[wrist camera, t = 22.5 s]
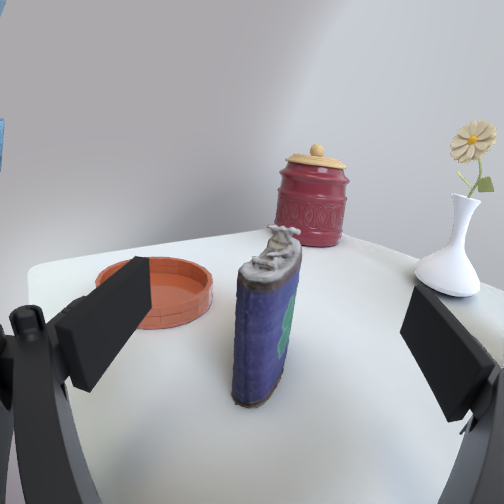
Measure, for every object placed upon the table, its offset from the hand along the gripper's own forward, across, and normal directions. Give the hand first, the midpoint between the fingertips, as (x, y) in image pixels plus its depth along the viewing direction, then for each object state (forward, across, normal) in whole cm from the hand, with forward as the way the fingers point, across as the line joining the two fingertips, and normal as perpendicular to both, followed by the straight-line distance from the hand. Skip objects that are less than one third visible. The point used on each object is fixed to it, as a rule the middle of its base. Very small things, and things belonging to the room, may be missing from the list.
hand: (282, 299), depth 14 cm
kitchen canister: (+43, +6, -8) cm, 44 cm away
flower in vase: (+23, +26, -9) cm, 36 cm away
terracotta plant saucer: (+13, -12, -8) cm, 20 cm away
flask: (+5, 0, -9) cm, 10 cm away
